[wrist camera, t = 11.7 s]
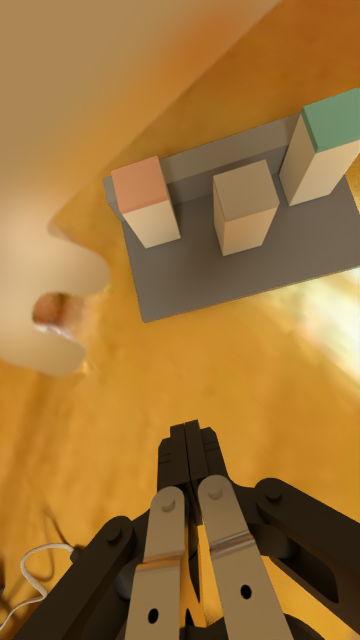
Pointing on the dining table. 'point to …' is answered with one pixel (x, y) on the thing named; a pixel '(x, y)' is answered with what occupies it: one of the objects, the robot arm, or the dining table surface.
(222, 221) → the beige tall block
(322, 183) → the beige and green block
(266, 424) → the dining table surface
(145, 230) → the beige and orange block
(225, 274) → the grey base
